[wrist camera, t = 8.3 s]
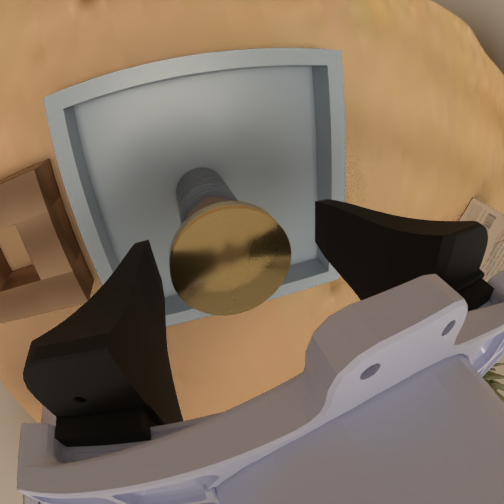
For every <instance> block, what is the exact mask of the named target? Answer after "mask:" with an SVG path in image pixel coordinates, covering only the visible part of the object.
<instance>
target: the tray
mask: <svg viewBox="0 0 504 504" xmlns="http://www.w3.org/2000/svg"><path fill="white" fill-rule="evenodd" d="M43 99H44V105H45V110H46V116H47V121H48V125H49V130H50V135H51V139H52V143H53V147H54V151H55V155H56V159H57V163H58V166H59V170H60V173H61V177H62V180H63V183H64V187H65V190H66V193H67V196H68V199H69V202H70V205H71V208H72V211H73V214H74V217H75V220H76V222H77V225H78V228H79V230H80V233H81V236H82V238H83V241H84V243H85V246H86V248H87V251H88V253H89V256H90V258H91V260H92V263H93V265H94V267H95V270H96V272H97V274H98V276H99V279H100V281H101V283H102V285H104V283H105V282H106V281H107V280H108V278H109V277H110V276H111V274H112V273H113V272H114V271H115V269H116V268H117V267H118V265H119V264H120V263H121V261H122V260H123V258H124V257H125V256H126V254H127V253H128V251H129V250H130V248H131V247H132V246H133V245H134V243H137V242H141V241H145V240H149V242H150V245H151V248H152V252H153V255H154V258H155V261H156V264H157V267H158V270H159V273H160V276H161V279H162V284H163V290H164V297H165V315H166V327H167V326H171V325H175V324H179V323H184V322H188V321H192V320H196V319H200V318H204V317H208V316H211V315H212V314H207V313H203V312H200V311H198V310H196V309H194V308H192V307H191V306H189V305H187V304H186V303H185V302H184V301H183V300H182V299H181V298H180V297H179V296H178V294H177V292H176V291H175V289H174V287H173V284H172V281H171V277H170V267H169V250H170V246H171V242H172V240H173V237H174V235H175V234H176V232H177V230H178V229H179V227H180V226H181V222H180V216H179V210H178V204H177V198H176V187H177V184H178V182H179V180H180V178H181V177H182V176H183V175H184V174H185V173H186V172H188V171H190V170H192V169H194V168H199V167H205V168H210V169H212V170H214V171H216V172H217V173H218V174H219V175H220V176H221V177H222V179H223V180H224V182H225V183H226V184H227V186H228V187H229V188H230V190H231V191H232V193H233V194H234V195H235V197H236V198H237V200H238V201H244V202H248V203H252V204H254V205H257V206H259V207H261V208H262V209H264V210H265V211H267V212H268V213H269V214H270V215H271V216H272V217H273V218H274V219H275V220H276V221H277V223H278V224H279V225H280V226H281V227H282V228H283V230H284V231H285V233H286V235H287V237H288V239H289V242H290V246H291V263H290V268H289V271H288V273H287V276H286V278H285V280H284V281H283V283H282V285H281V286H280V287H279V288H278V290H277V291H276V292H275V293H274V294H273V295H272V296H271V297H270V298H268V299H267V300H270V299H274V298H277V297H281V296H284V295H287V294H291V293H294V292H298V291H301V290H304V289H308V288H311V287H314V286H317V285H321V284H324V283H327V282H330V281H333V280H336V279H339V276H340V274H339V273H338V272H337V271H336V270H335V269H334V267H333V266H332V265H331V264H330V263H329V262H328V260H327V259H326V258H325V257H324V255H323V254H322V252H321V251H320V249H319V247H318V246H317V244H316V243H315V201H320V200H325V199H331V200H337V201H341V202H344V200H345V105H344V84H343V69H342V56H341V50H330V49H313V48H260V49H242V50H230V51H220V52H211V53H203V54H196V55H189V56H183V57H177V58H172V59H167V60H162V61H157V62H152V63H148V64H143V65H139V66H135V67H131V68H127V69H124V70H120V71H116V72H113V73H110V74H106V75H103V76H100V77H97V78H94V79H91V80H88V81H85V82H82V83H79V84H76V85H74V86H71V87H68V88H66V89H63V90H61V91H58V92H56V93H53V94H51V95H48V96H46V97H44V98H43ZM267 300H266V301H267Z"/></svg>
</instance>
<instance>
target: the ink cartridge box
mask: <svg viewBox="0 0 504 504" xmlns="http://www.w3.org/2000/svg"><path fill="white" fill-rule="evenodd" d="M459 221H477V222H479V223H480V224H482V225H483V226H485V227H486V229H487V232H488V243H487V247H486V251H485V254H484V257H483V260H482V263H481V266H480V270H481V271H483V272H484V274H485V275H484V277H483V278H482V279H484V280H485V281H486V282H488V281H489V279H490V278H491V277H492V276H494V275H495V274H497V273H498V272H499V271H501V270H503V271H504V215H503V214H501V213H500V212H498V211H497V210H495V209H493V208H491V207H490V206H488V205H486V204H485V203H483V202H481V201H479V200H477V199H475V198H473V199H472V200H471V202H470V204H469V205H468V207H467V208H466V210H465V212H464V213H463V215H462V217H461V218H460V220H459Z"/></svg>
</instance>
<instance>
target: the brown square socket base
mask: <svg viewBox="0 0 504 504" xmlns="http://www.w3.org/2000/svg"><path fill="white" fill-rule="evenodd" d="M13 224H16V227H17V229H18V231H19V234H20V236H21V239H22V241H23V243H24V245H25V248H26V250H27V252H28V254H29V256H30V258H31V260H32V263H33V265H31V266H28V267H25V268H22V269H19V270H15V271H11V269H10V267H9V265H8V263H7V261H6V259H5V257H4V255H3V253H2V251H1V249H0V323H4V322H8V321H12V320H17V319H21V318H26V317H30V316H34V315H39V314H43V313H47V312H51V311H56V310H60V309H64V308H68V307H73V306H77V305H81V304H85V303H86V302H87V301H88V300H89V298H90V294H91V290H92V286H93V281H94V280H93V278H92V275H91V273H90V271H89V269H88V266H87V264H86V262H85V260H84V257H83V255H82V253H81V250H80V248H79V245H78V243H77V240H76V238H75V235H74V233H73V230H72V227H71V225H70V222H69V219H68V217H67V214H66V211H65V208H64V205H63V202H62V199H61V196H60V193H59V190H58V187H57V184H56V180H55V177H54V174H53V170H52V167H51V163H50V159H48V160H45V161H43V162H41V163H38V164H36V165H33V166H31V167H29V168H26V169H24V170H22V171H20V172H17V173H15V174H13V175H11V176H9V177H7V178H5V179H3V180H1V181H0V230H1V229H4V228H6V227H9V226H11V225H13Z"/></svg>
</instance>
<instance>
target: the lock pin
mask: <svg viewBox="0 0 504 504" xmlns="http://www.w3.org/2000/svg"><path fill="white" fill-rule="evenodd" d="M176 198H177V204H178V210H179V216H180V222H181V226H180V227H179V229H178V230H177V232H176V234H175V235H174V237H173V240H172V242H171V246H170V250H169V267H170V277H171V281H172V284H173V287H174V289H175V291H176V292H177V294H178V296H179V297H180V298H181V299H182V300H183V301H184V302H185V303H186V304H187V305H189V306H191V307H192V308H194V309H196V310H198V311H200V312H203V313H207V314H212V315H232V314H237V313H242V312H245V311H248V310H250V309H252V308H255V307H256V306H258V305H260V304H262V303H263V302H264V301H266V300H267V299H268V298H270V297H271V296H272V295H273V294H274V293H275V292H276V291H277V290H278V288H279V287H280V286H281V285H282V283H283V281H284V280H285V278H286V276H287V273H288V271H289V268H290V263H291V246H290V242H289V239H288V237H287V235H286V233H285V231H284V230H283V228H282V227H281V226H280V225H279V224H278V223H277V221H276V220H275V219H274V218H273V217H272V216H271V215H270V214H269V213H268V212H267V211H265V210H264V209H262V208H261V207H259V206H257V205H254V204H252V203H248V202H244V201H238V200H237V198H236V197H235V195H234V194H233V193H232V191H231V190H230V188H229V187H228V186H227V184H226V183H225V182H224V180H223V179H222V177H221V176H220V175H219V174H218V173H217V172H216V171H214V170H212V169H210V168H205V167H199V168H194V169H192V170H190V171H188V172H186V173H185V174H184V175H183V176H182V177H181V178H180V180H179V182H178V184H177V187H176Z"/></svg>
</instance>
